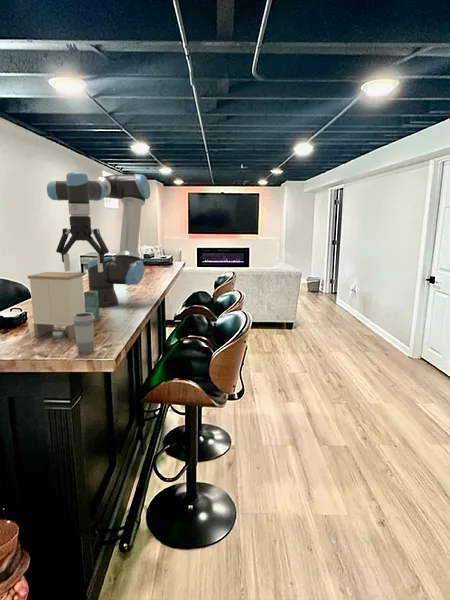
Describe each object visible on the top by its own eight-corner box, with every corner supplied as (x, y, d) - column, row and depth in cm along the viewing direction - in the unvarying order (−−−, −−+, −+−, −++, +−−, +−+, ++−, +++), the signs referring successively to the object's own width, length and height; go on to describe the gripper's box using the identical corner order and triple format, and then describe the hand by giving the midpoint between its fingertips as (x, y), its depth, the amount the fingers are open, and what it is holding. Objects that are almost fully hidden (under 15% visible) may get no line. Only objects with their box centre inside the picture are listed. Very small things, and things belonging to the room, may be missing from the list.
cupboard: (51, 329, 148) (46, 271, 143) (87, 331, 146) (83, 273, 141) (33, 337, 137) (27, 275, 133) (72, 339, 135) (67, 277, 131)
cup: (93, 354, 120) (91, 317, 118) (71, 355, 120) (68, 317, 117) (99, 347, 127) (97, 311, 125) (78, 347, 127) (75, 312, 124)
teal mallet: (90, 318, 165) (88, 290, 163) (99, 318, 164) (97, 291, 162) (64, 331, 145) (62, 299, 143) (74, 331, 145) (72, 300, 143)
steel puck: (57, 334, 142) (56, 327, 141) (70, 335, 141) (69, 328, 140) (49, 338, 137) (48, 331, 136) (62, 339, 136) (61, 332, 136)
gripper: (43, 215, 145) (48, 271, 149) (106, 215, 141) (110, 273, 146) (54, 215, 152) (59, 269, 157) (115, 215, 149) (118, 270, 153)
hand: (84, 271), depth 151 cm, fingers open, 13 cm apart
